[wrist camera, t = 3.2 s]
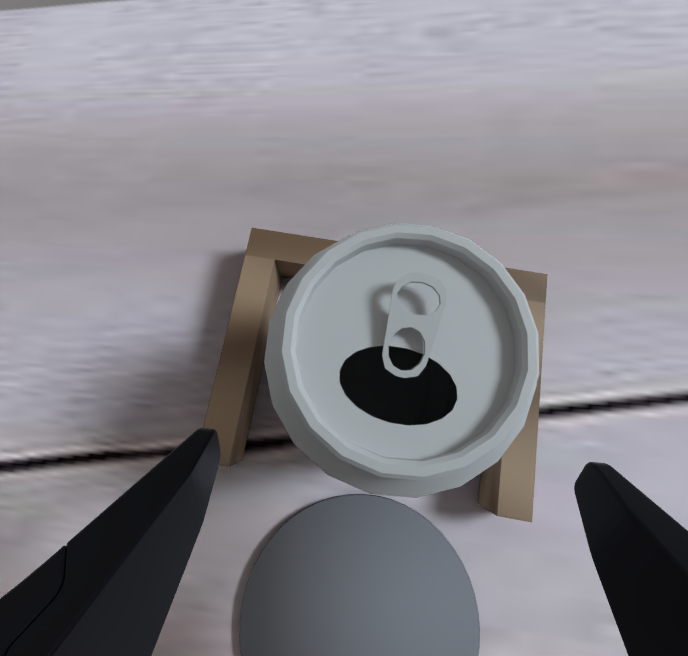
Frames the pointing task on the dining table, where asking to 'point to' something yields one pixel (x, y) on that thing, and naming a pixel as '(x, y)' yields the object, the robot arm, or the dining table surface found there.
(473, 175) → the dining table surface
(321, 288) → the can
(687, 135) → the dining table surface
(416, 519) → the pad
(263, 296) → the wooden frame
